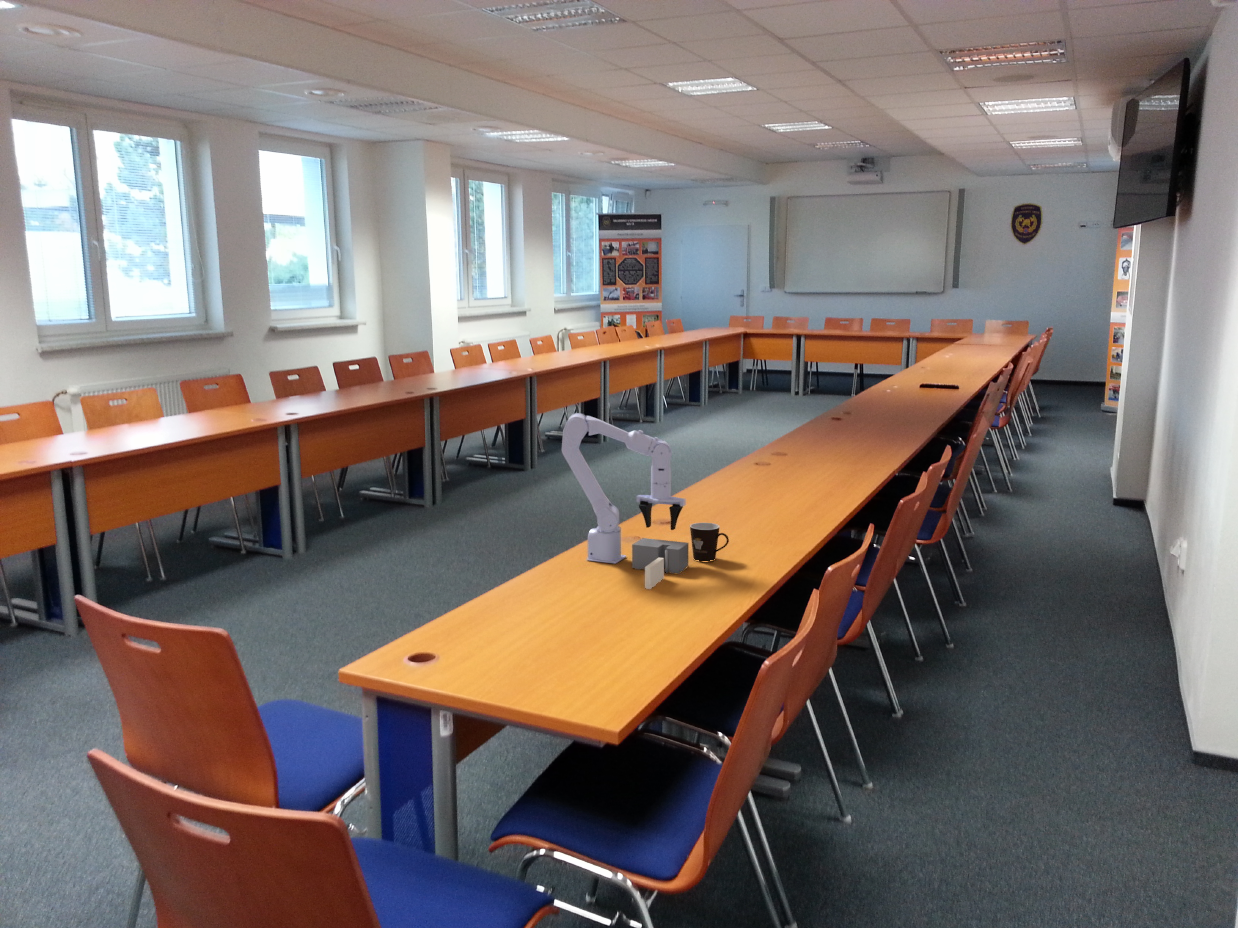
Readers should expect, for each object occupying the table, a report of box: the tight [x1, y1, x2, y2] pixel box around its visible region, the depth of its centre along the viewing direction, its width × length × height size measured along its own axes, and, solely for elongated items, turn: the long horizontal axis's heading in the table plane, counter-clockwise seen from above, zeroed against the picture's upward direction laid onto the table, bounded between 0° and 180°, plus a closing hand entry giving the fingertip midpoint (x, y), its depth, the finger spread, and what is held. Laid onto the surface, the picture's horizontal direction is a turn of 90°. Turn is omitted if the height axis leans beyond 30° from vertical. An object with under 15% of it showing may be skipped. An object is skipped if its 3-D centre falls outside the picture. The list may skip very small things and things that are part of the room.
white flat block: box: [644, 558, 665, 590], centre depth 249 cm, size 2×10×6 cm, turn 156°
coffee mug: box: [689, 522, 730, 561], centre depth 270 cm, size 12×9×10 cm
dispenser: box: [631, 537, 690, 575], centre depth 263 cm, size 14×9×7 cm, turn 66°
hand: (660, 528), depth 271 cm, fingers open, 7 cm apart
